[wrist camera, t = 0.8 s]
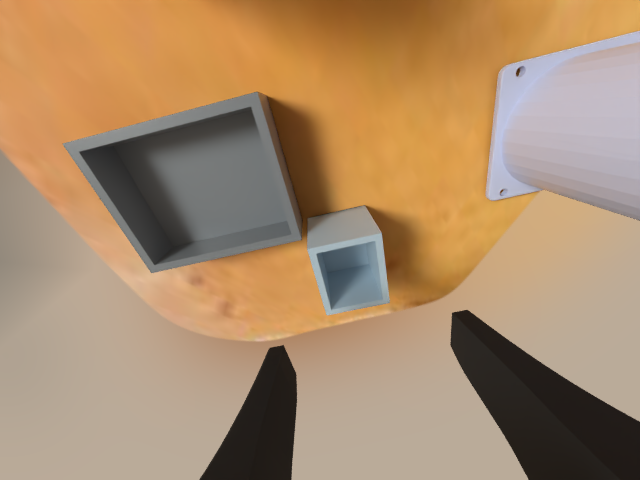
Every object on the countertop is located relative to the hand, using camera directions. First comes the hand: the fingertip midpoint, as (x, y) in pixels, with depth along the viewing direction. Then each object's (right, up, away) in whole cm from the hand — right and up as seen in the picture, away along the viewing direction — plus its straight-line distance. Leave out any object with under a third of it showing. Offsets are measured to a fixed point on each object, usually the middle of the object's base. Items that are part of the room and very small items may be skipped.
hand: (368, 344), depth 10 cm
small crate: (0, +4, +8) cm, 9 cm away
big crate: (-9, +8, +6) cm, 14 cm away
